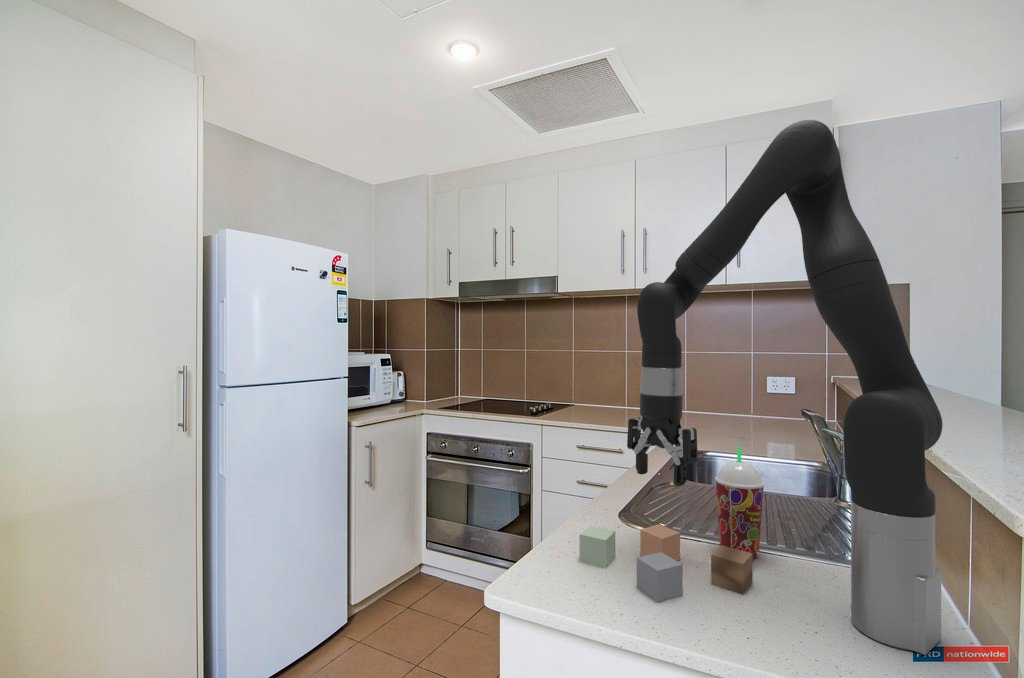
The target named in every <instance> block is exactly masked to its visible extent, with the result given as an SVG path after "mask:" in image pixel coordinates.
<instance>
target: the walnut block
mask: <svg viewBox="0 0 1024 678" xmlns="http://www.w3.org/2000/svg"><path fill="white" fill-rule="evenodd" d="M753 559H754V558H753V553H749V552H745V551H741V550H738V549H734V548H730V547H726V546H722V545H720V546H719V547H717V549H716V550H714V552H712V553H711V555H710V585H711V586H715V587H716V588H717V587H718V588H720V589H724V590H726V591H730V592H733V593H737V594H740V595H742V596H744V595H745V594H746V593H747V591H748V590H749V588H750V587H751V586H752V585H753V571H754V570H753V569H754V567H753V564H754V563H753V562H754V561H753Z"/></svg>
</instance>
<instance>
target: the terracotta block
mask: <svg viewBox="0 0 1024 678" xmlns="http://www.w3.org/2000/svg"><path fill="white" fill-rule="evenodd" d="M639 535H640V538H639V541H640V543H639V544H640V545H639V546H640V547H639V549H640V551H639V552H640V556H639V557H641V556H646V555H650V554H655V553H659V552H662V553H663V554H665V555H667V556H669V557H670V558H672V559H674V560H676V561H677V562H679V561H681V532H679V531H677V530H674V529H671V528H670V527H666V526H664V525H661V524H659V523H657V524H655V525H652V526H648V527H645V528H643V529H640V532H639Z"/></svg>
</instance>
